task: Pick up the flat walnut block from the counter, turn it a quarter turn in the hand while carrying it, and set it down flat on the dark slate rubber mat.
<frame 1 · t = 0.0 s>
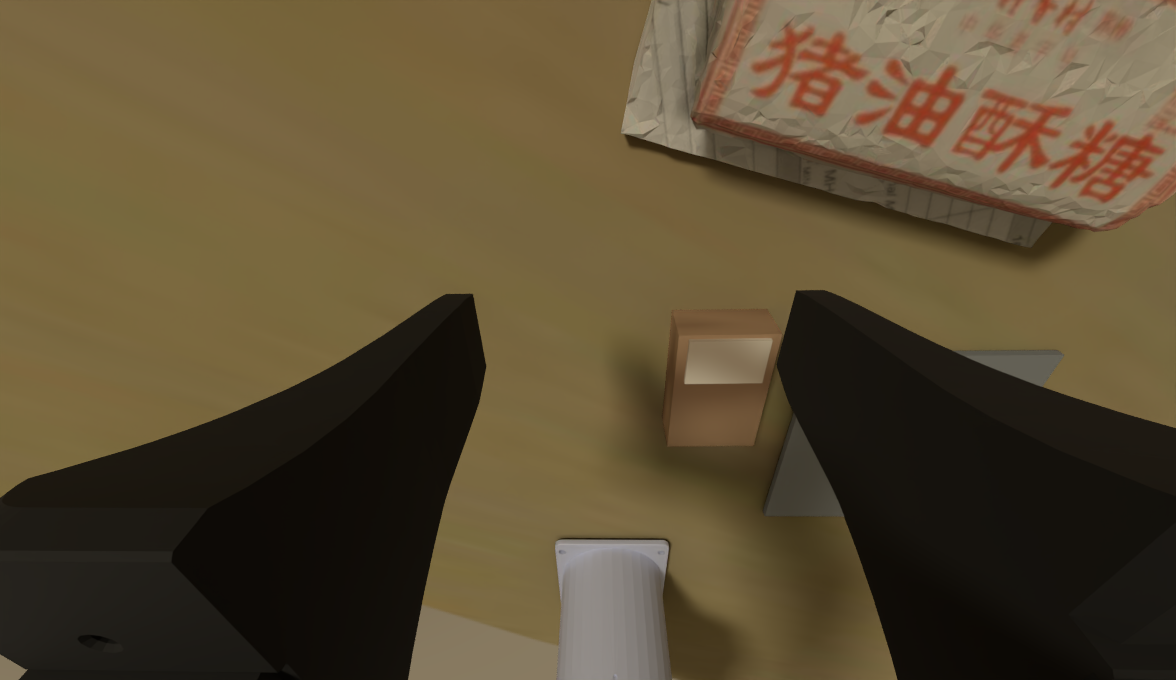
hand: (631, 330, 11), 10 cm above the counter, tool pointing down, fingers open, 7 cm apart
walnut block: (708, 363, 24), on the counter
slate mat: (889, 442, 27), on the counter
packaged product: (895, 49, 16), on the counter
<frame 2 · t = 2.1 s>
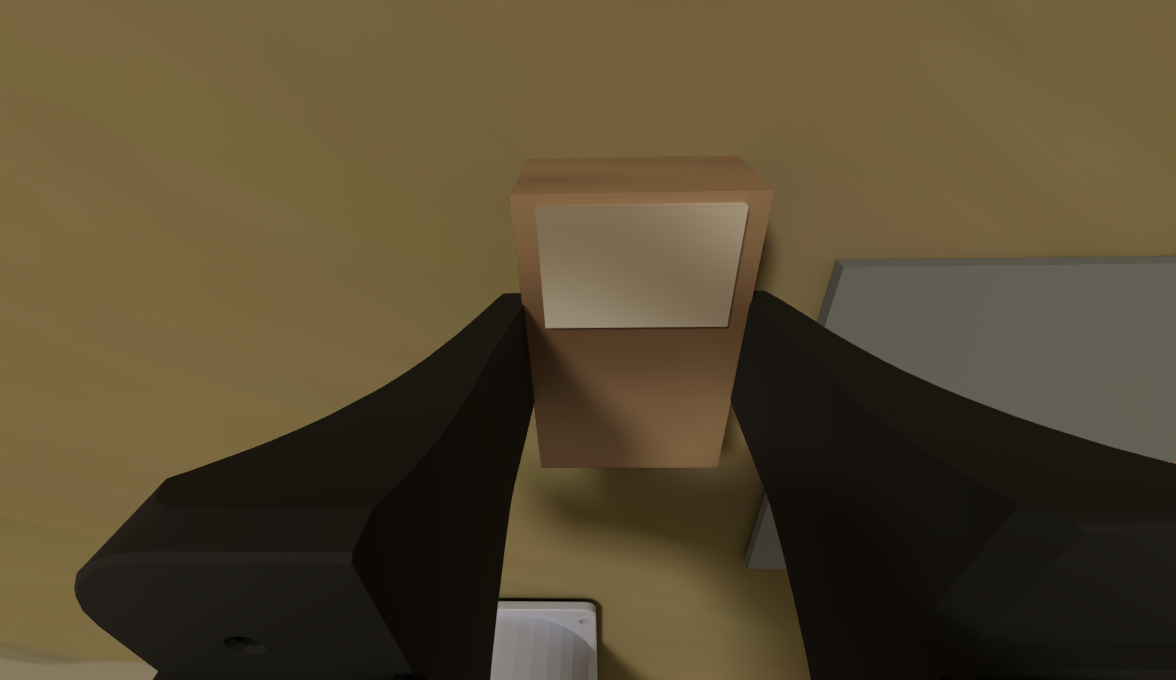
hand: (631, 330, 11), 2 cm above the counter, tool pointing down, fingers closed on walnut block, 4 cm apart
walnut block: (627, 300, 12), on the counter, touching gripper
slate mat: (969, 446, 15), on the counter
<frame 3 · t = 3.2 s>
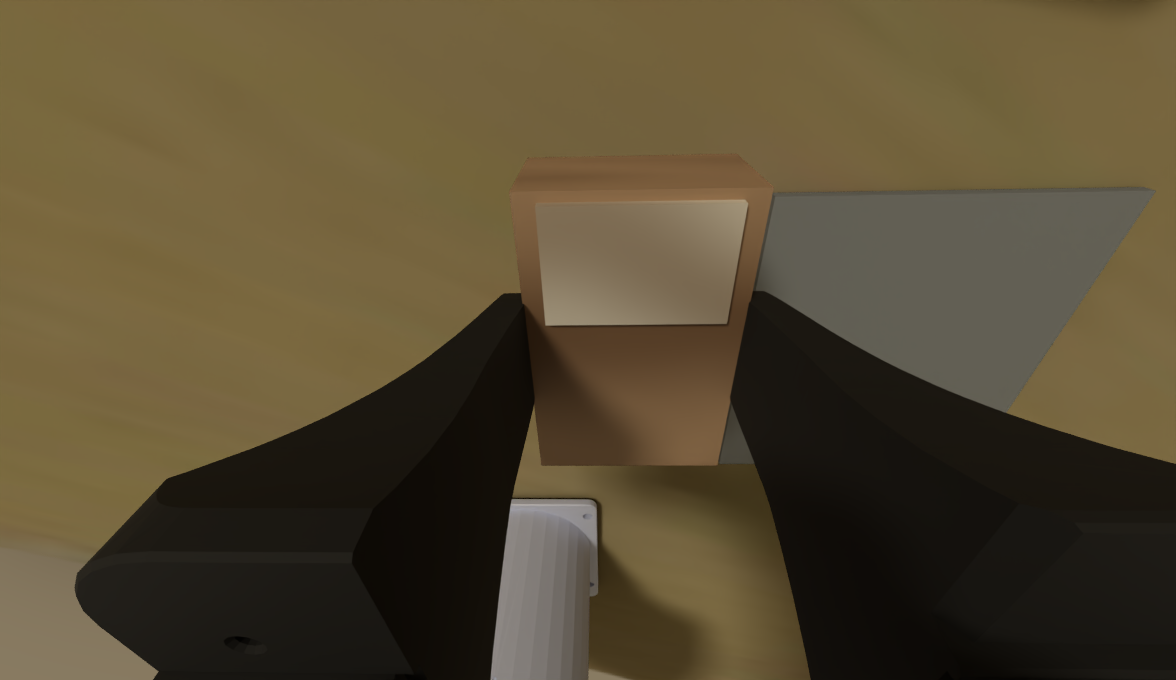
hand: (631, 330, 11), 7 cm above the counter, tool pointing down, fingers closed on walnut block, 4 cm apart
walnut block: (627, 298, 12), point 5 cm above the counter, touching gripper
slate mat: (886, 350, 19), on the counter
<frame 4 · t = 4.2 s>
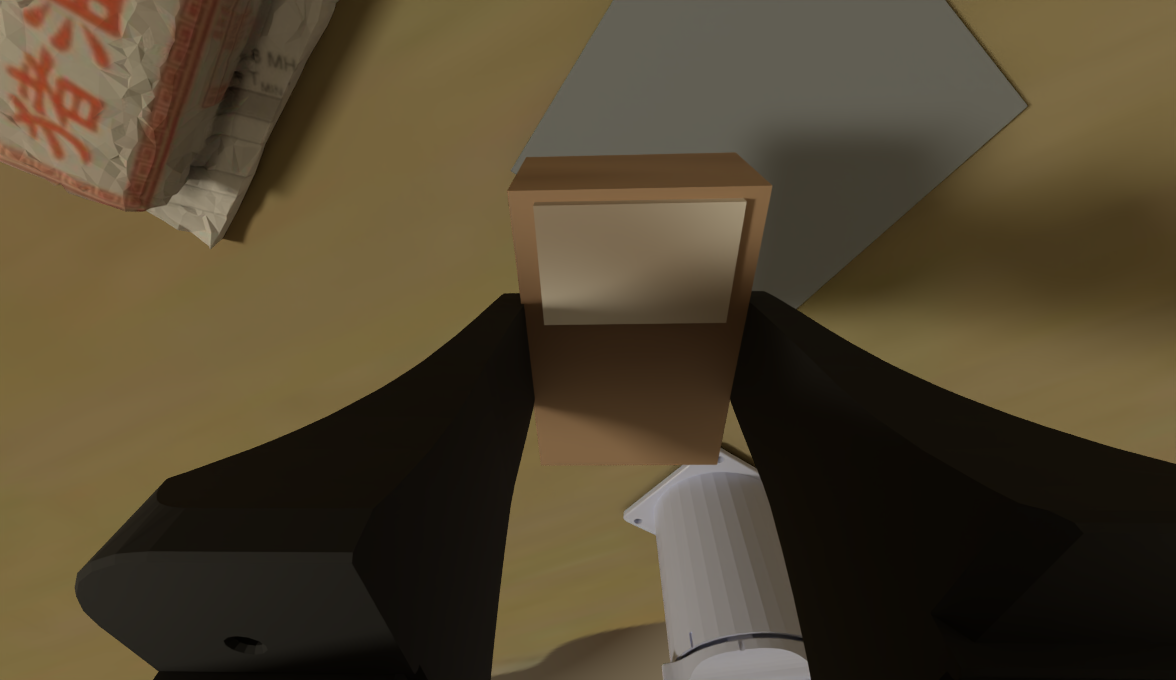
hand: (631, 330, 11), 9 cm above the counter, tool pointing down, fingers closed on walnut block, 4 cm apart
walnut block: (626, 297, 12), point 7 cm above the counter, touching gripper
slate mat: (754, 137, 16), on the counter
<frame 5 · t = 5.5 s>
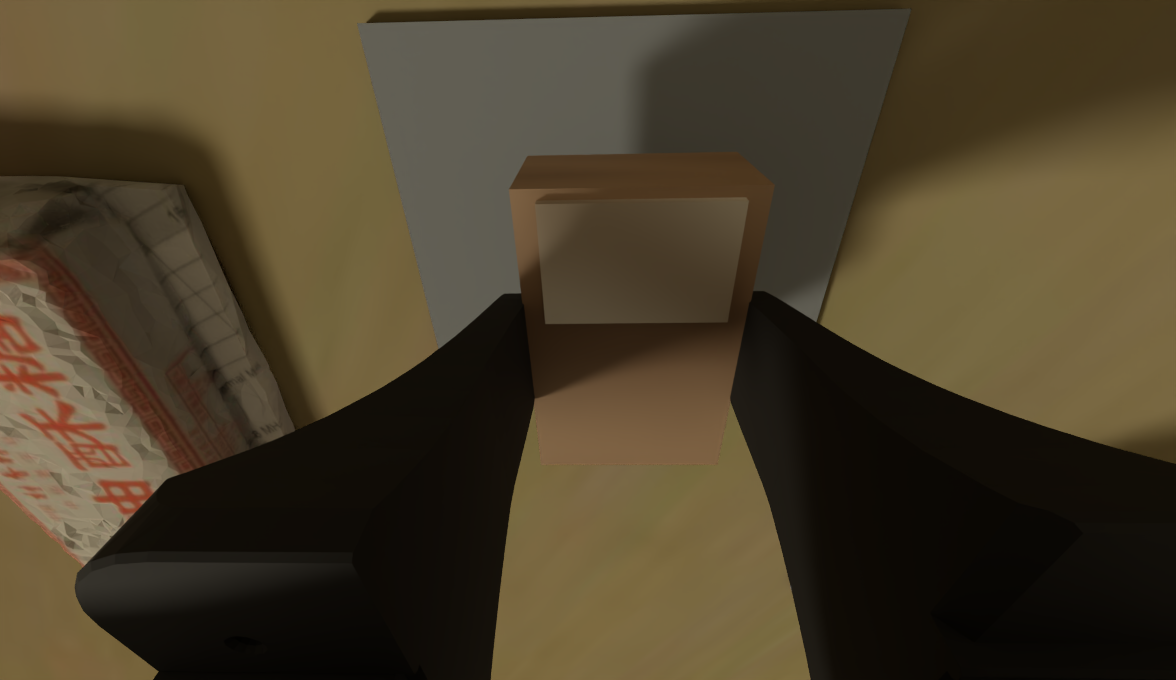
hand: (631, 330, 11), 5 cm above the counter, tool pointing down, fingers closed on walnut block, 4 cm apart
walnut block: (627, 296, 12), point 3 cm above the counter, touching gripper
slate mat: (623, 249, 14), on the counter
packaged product: (177, 389, 19), on the counter
when the fingers open (3 cm above the counter, at t = 6.6 s): walnut block drops 1 cm, resting on slate mat.
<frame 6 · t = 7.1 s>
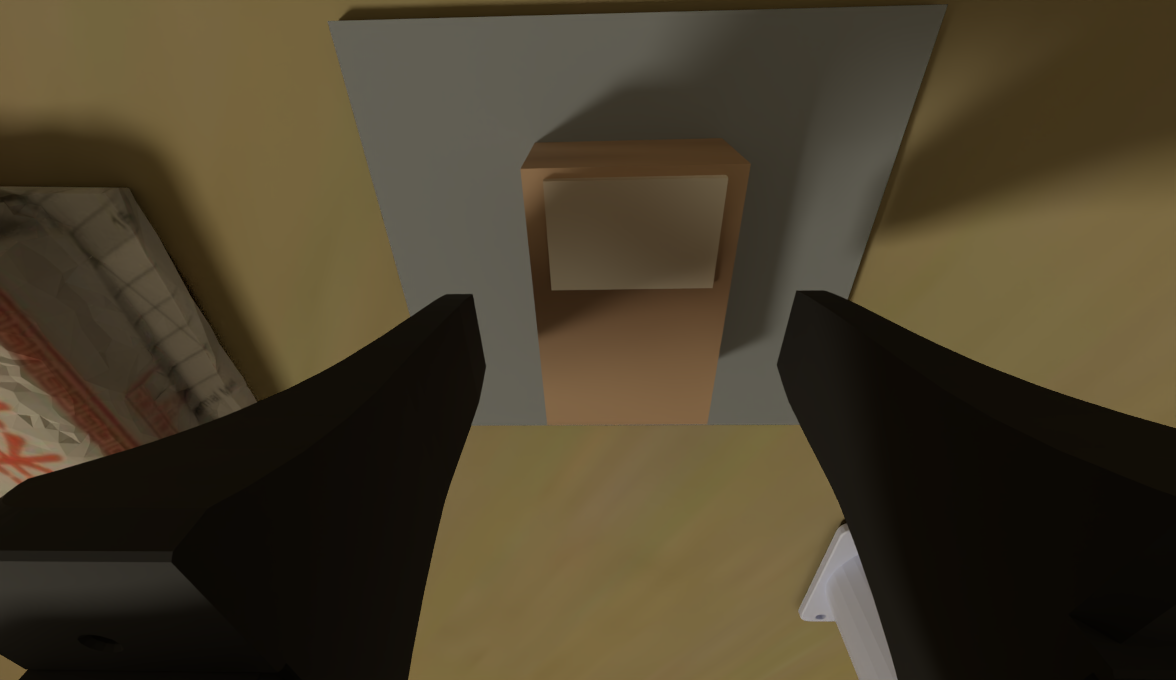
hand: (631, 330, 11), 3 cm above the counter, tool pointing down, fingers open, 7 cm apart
walnut block: (625, 272, 13), resting on slate mat
slate mat: (624, 266, 13), on the counter
packaged product: (156, 412, 18), on the counter
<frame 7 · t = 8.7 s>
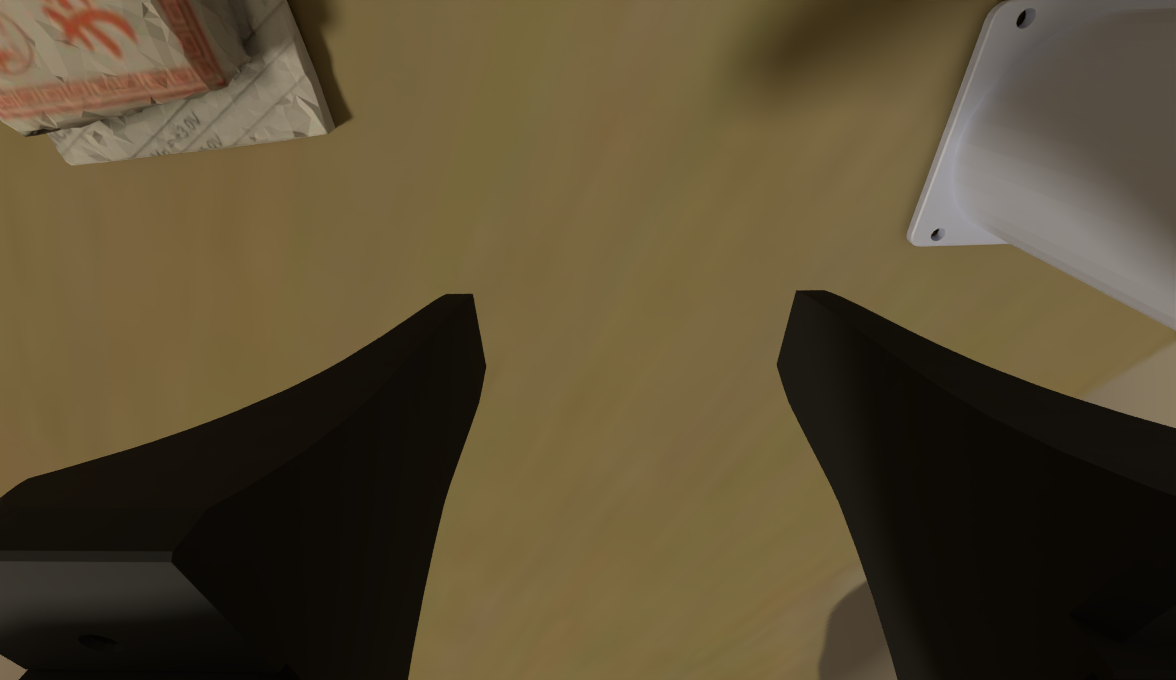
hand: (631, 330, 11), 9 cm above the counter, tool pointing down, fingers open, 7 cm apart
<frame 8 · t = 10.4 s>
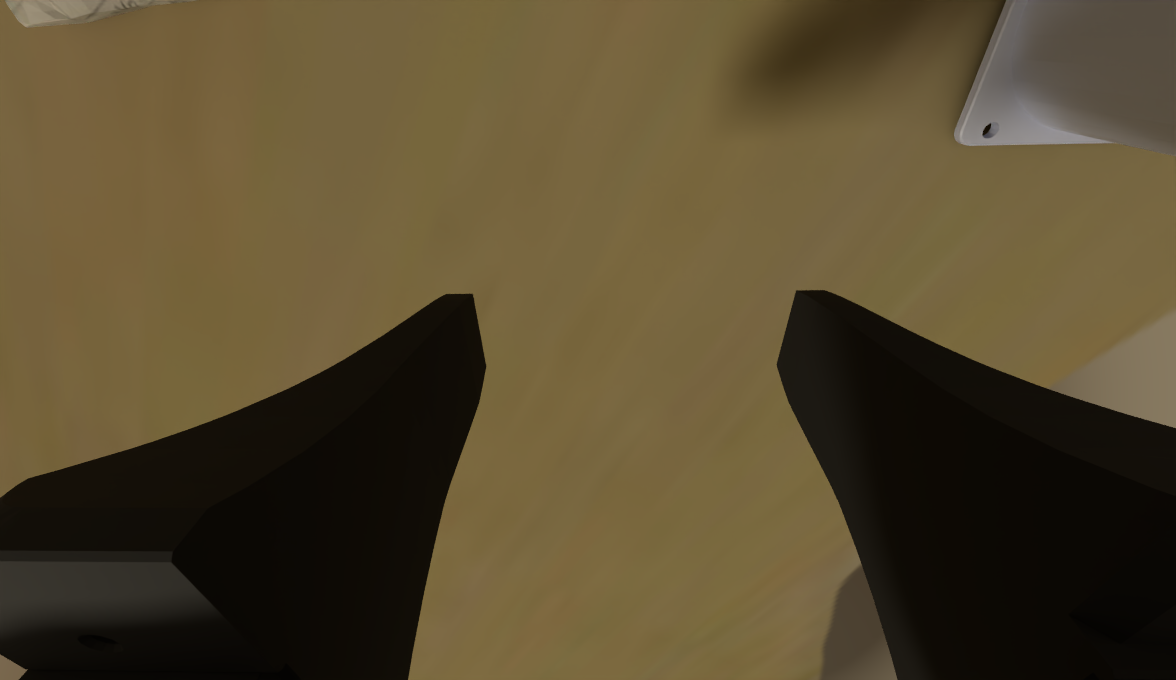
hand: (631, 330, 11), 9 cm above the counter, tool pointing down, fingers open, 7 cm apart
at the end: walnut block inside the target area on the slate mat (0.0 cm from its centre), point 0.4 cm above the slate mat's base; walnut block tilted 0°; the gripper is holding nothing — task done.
